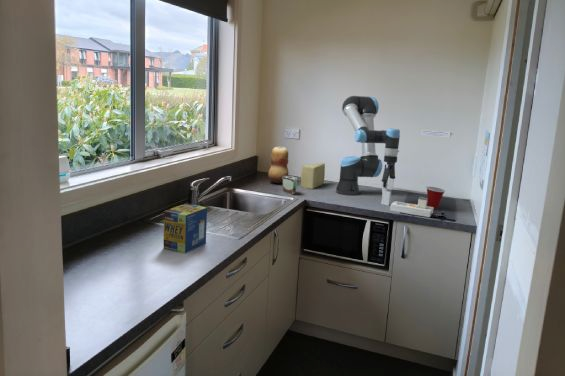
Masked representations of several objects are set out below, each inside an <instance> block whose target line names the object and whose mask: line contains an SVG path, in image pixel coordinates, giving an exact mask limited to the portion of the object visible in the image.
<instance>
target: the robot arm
mask: <svg viewBox="0 0 565 376" xmlns="http://www.w3.org/2000/svg"><path fill="white" fill-rule="evenodd" d="M341 110H342V113H343V115H344V116H345V117H347V118H348V121H349V122H350V124H351V126H352V129H354V140H355V142H357V143H361V155H360V156H355V155H353V156H345V157H342V159H341V160H340V168H339V169H340V173H339V180H338V183H337V186H336V188H335V193H337V194H339V195H340V194H341V195H345V196H357V195H360V186H359V183H358V181H359V178H377V177H379V176H380V175H381V172H382V169H383V162H385V163H386V164H384V169H383V170H384V171H383V174H382V179H381V182H382V187H381V193H387V189H391V190H394V180H395V179H396V172H395V171H396V166H395V165H396V163H397V162H398V153H400V150H399V146H400V137H401V134H400V133H401V132H400V129H399V128H387V129H386V130H383V129H382V130H375V123H374V118H376V115H377V114H378V113H379V102H378V100H377V98H376V97H374V96H362V95H361V96H359V95H351V96H348V97H347V98H346V99H345V100H344V101H343V103H342V106H341ZM376 144H385V146H384V156H383V161H382V159H380V158H379V155H378V154H377V153H376Z"/></svg>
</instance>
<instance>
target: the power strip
mask: <svg viewBox="0 0 565 376" xmlns="http://www.w3.org/2000/svg"><path fill="white" fill-rule="evenodd" d="M389 206H390V207H389V211H391V212H397V213H402V214H403V213H404V214H409V215H415V216H421V217H426V218H431V217H432V215H433V217H438V216H444V217H445V219H446V218H447V215H445V214H439V213H434V210H435V209H434V207H428V205H427V208H426V209H421V208H417V206H418V204H416V203H410V202H409V203H408V202H403V201H397V200H395V201H393V202H392V203H390V205H389ZM444 217H443V218H444Z"/></svg>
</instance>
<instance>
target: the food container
mask: <svg viewBox="0 0 565 376" xmlns="http://www.w3.org/2000/svg"><path fill="white" fill-rule="evenodd" d="M282 179H283V183H282V192H283V191H284V192H283V193H285V192H286V193H285V194H288V193H289V194H288V195H290V194H291V196H294V195H296V190H297V183H298V182H299V180H298V177H296V176H291V175H288V176H283V177H282Z"/></svg>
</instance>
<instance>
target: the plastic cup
mask: <svg viewBox="0 0 565 376" xmlns="http://www.w3.org/2000/svg"><path fill="white" fill-rule="evenodd" d="M425 188H426V193H427V194H426V196H427V197H426V198H428V201H427V206H428V207H434V209H433V210H438V209H439V206H440V204H441V201H442V199H443V195H444V193H445V192H446V190H445V189H443V188H440V187H435V186H426V187H425Z"/></svg>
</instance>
